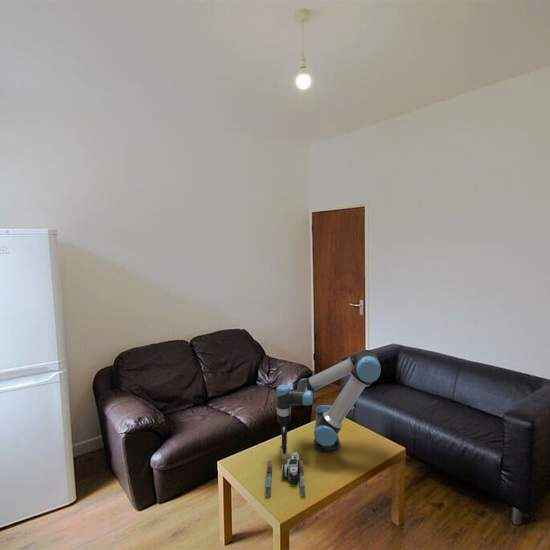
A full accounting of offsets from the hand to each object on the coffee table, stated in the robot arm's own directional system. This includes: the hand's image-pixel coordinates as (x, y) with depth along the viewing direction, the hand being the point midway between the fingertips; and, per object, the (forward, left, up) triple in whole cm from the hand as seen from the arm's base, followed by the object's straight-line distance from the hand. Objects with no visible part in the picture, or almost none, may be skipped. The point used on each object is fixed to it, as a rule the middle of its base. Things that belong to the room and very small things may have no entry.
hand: (284, 450), depth 198 cm
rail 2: (-8, +21, -3) cm, 23 cm away
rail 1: (+8, +21, -3) cm, 23 cm away
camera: (-3, +16, -4) cm, 17 cm away
